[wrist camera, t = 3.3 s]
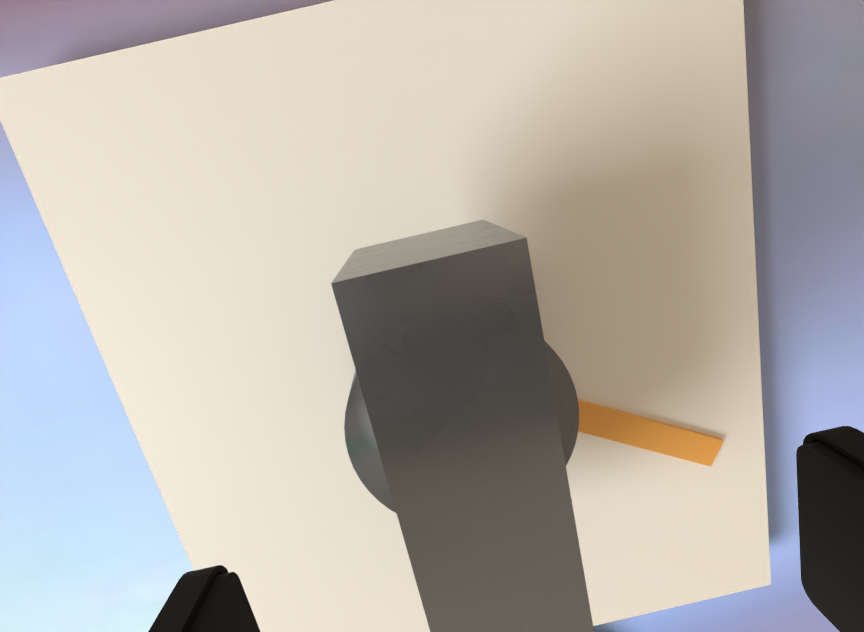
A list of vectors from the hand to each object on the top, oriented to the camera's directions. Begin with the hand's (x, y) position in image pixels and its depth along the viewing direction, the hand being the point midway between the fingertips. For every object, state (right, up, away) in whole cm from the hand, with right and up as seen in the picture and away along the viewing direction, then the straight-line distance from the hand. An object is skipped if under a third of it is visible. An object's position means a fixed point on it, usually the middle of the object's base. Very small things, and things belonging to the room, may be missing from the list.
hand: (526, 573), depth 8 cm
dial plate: (-1, +3, +9) cm, 9 cm away
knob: (-1, +1, +8) cm, 8 cm away
